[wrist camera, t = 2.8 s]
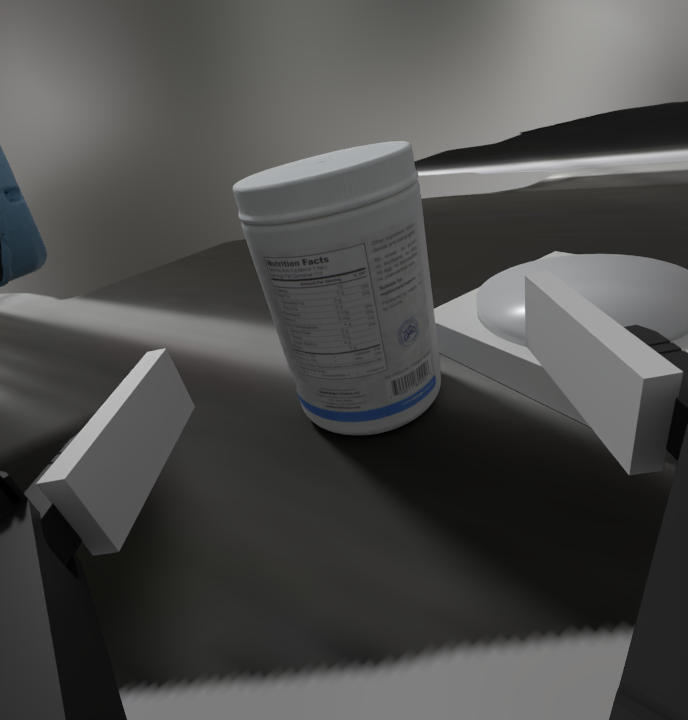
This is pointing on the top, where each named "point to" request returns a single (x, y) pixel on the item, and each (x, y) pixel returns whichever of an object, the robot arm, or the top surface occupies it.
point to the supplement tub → (348, 283)
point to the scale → (589, 279)
